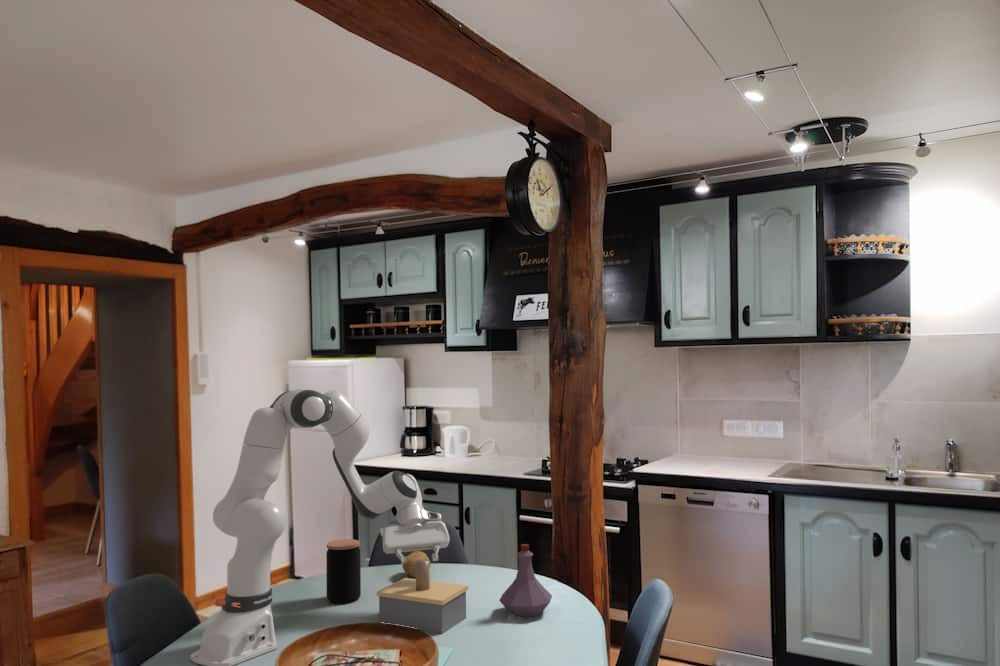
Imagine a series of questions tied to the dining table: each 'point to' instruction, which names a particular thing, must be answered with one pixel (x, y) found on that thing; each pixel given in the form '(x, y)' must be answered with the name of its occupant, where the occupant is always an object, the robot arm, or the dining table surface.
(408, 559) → the potato
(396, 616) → the tub
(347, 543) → the coffee jar
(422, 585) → the lid
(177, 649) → the dining table surface
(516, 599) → the flask
